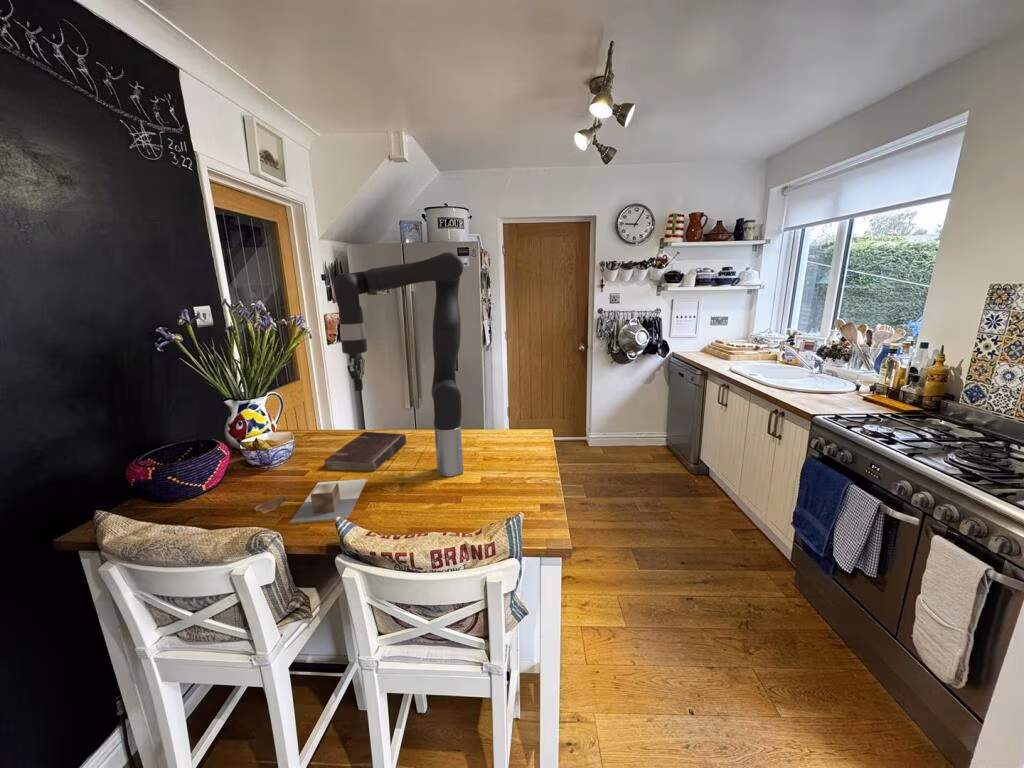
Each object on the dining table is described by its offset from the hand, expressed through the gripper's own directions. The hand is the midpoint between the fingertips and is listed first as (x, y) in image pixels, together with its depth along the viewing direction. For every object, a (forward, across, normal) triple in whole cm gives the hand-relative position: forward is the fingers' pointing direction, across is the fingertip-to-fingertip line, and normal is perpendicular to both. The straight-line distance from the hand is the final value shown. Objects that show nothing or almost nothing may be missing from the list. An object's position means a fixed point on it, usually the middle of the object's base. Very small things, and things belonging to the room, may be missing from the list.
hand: (359, 390), depth 134 cm
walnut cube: (+25, -19, +8) cm, 32 cm away
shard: (+33, -14, +26) cm, 44 cm away
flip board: (+32, -14, +8) cm, 36 cm away
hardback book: (+33, +20, +4) cm, 39 cm away
